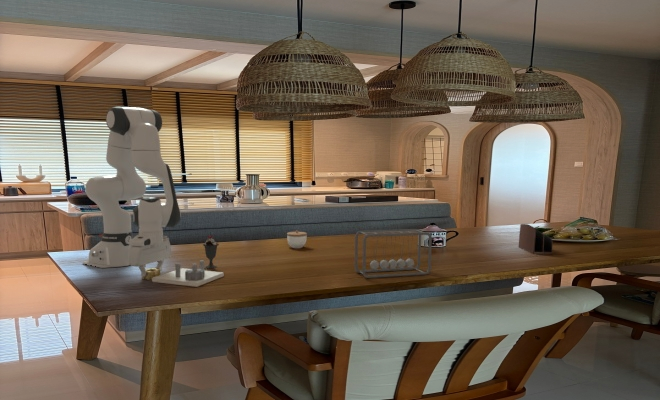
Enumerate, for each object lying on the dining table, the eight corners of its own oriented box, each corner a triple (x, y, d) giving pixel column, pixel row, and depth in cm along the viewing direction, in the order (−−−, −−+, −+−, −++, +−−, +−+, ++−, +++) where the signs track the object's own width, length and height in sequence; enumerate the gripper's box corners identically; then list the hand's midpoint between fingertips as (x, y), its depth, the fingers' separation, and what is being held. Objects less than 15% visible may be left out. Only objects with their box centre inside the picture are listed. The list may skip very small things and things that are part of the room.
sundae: (212, 264, 215) (212, 231, 214) (222, 267, 211) (221, 232, 209) (199, 267, 210) (199, 232, 209) (209, 269, 205) (209, 234, 204)
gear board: (152, 281, 184) (151, 263, 184) (181, 271, 201) (181, 255, 200) (196, 286, 177) (196, 267, 177) (223, 276, 194) (223, 258, 194)
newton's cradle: (363, 278, 192) (363, 234, 191) (354, 273, 202) (354, 230, 201) (431, 274, 201) (432, 232, 200) (419, 269, 211) (420, 228, 210)
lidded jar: (283, 248, 258) (283, 230, 257) (291, 245, 268) (291, 228, 268) (302, 249, 255) (302, 231, 254) (309, 246, 265) (309, 229, 264)
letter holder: (533, 254, 249) (534, 227, 248) (518, 247, 269) (519, 222, 268) (552, 254, 249) (553, 227, 248) (536, 247, 269) (537, 222, 268)
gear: (139, 279, 187) (139, 272, 186) (145, 275, 194) (145, 268, 193) (157, 279, 187) (157, 272, 187) (163, 275, 194) (162, 268, 194)
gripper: (162, 234, 200) (162, 267, 201) (125, 241, 181) (126, 278, 182) (174, 235, 198) (175, 268, 199) (139, 242, 179) (140, 279, 180)
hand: (151, 273), depth 190 cm, fingers closed on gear, 7 cm apart
